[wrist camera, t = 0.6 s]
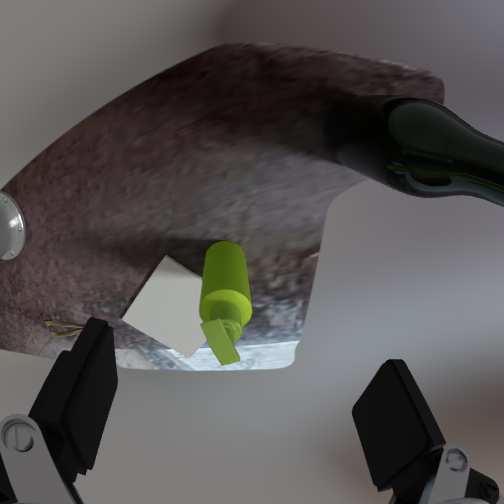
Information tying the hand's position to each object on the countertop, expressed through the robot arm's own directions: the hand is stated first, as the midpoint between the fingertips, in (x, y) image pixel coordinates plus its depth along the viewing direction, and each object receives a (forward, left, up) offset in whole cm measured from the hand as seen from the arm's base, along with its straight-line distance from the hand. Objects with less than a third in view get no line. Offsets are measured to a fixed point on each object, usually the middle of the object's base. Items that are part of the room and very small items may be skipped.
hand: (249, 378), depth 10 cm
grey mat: (-23, -6, -34) cm, 41 cm away
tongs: (-39, +8, -35) cm, 53 cm away
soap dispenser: (-10, -6, -34) cm, 36 cm away
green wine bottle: (+16, -9, -34) cm, 39 cm away
